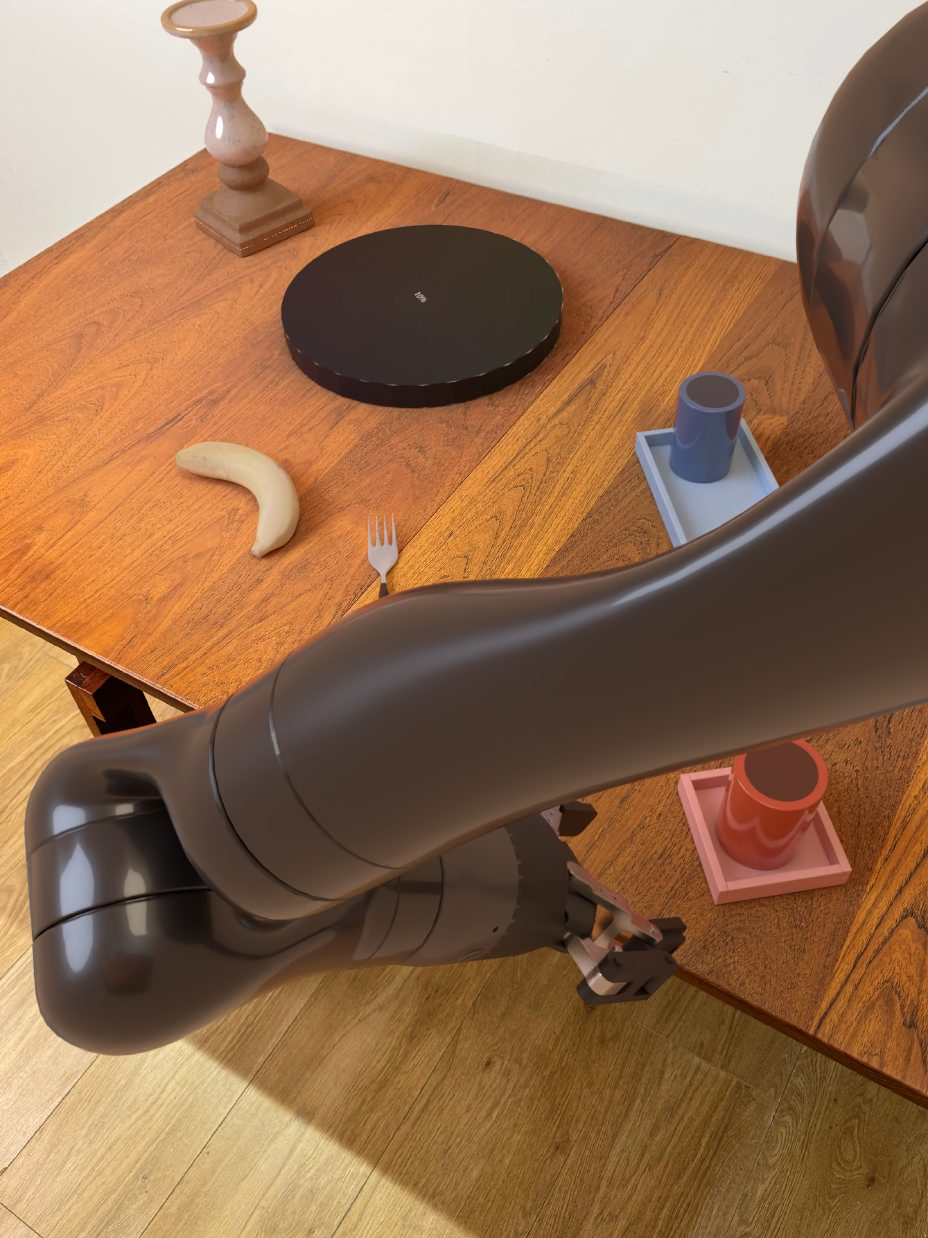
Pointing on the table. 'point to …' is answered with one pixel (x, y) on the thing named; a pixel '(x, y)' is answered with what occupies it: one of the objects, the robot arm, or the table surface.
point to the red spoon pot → (770, 804)
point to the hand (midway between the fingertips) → (627, 874)
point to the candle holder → (234, 134)
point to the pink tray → (734, 882)
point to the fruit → (250, 486)
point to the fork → (382, 553)
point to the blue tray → (703, 485)
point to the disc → (422, 315)
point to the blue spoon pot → (706, 426)
